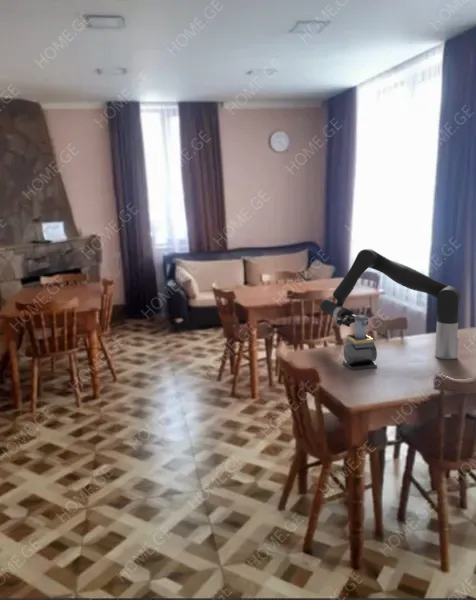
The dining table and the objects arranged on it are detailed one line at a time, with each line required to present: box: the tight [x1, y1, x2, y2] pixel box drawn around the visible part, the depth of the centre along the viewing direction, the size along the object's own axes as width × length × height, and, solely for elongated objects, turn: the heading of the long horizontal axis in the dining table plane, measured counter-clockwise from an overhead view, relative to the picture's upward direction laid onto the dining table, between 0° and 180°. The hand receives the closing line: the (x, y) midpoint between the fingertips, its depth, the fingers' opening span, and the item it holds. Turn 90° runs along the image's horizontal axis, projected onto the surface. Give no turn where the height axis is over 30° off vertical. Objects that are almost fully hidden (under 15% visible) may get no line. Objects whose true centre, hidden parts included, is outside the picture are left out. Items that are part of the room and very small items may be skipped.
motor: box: [342, 334, 378, 371], centre depth 229 cm, size 12×10×14 cm
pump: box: [354, 314, 368, 340], centre depth 226 cm, size 7×6×11 cm
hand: (358, 323), depth 229 cm, fingers open, 8 cm apart
